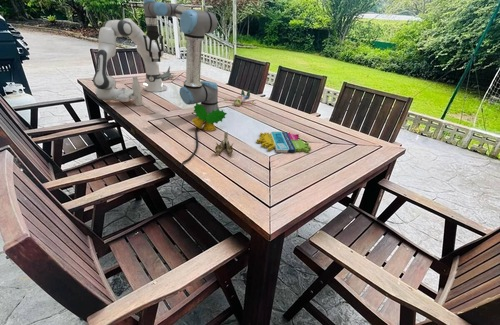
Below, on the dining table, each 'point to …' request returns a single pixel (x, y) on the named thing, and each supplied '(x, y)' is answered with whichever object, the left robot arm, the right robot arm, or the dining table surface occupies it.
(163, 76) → the airplane
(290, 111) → the dining table surface
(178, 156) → the dining table surface
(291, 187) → the dining table surface
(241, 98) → the toy
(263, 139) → the packaged gardening gloves
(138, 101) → the bottle
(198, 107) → the ornament
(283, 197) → the dining table surface
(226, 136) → the jawbone
